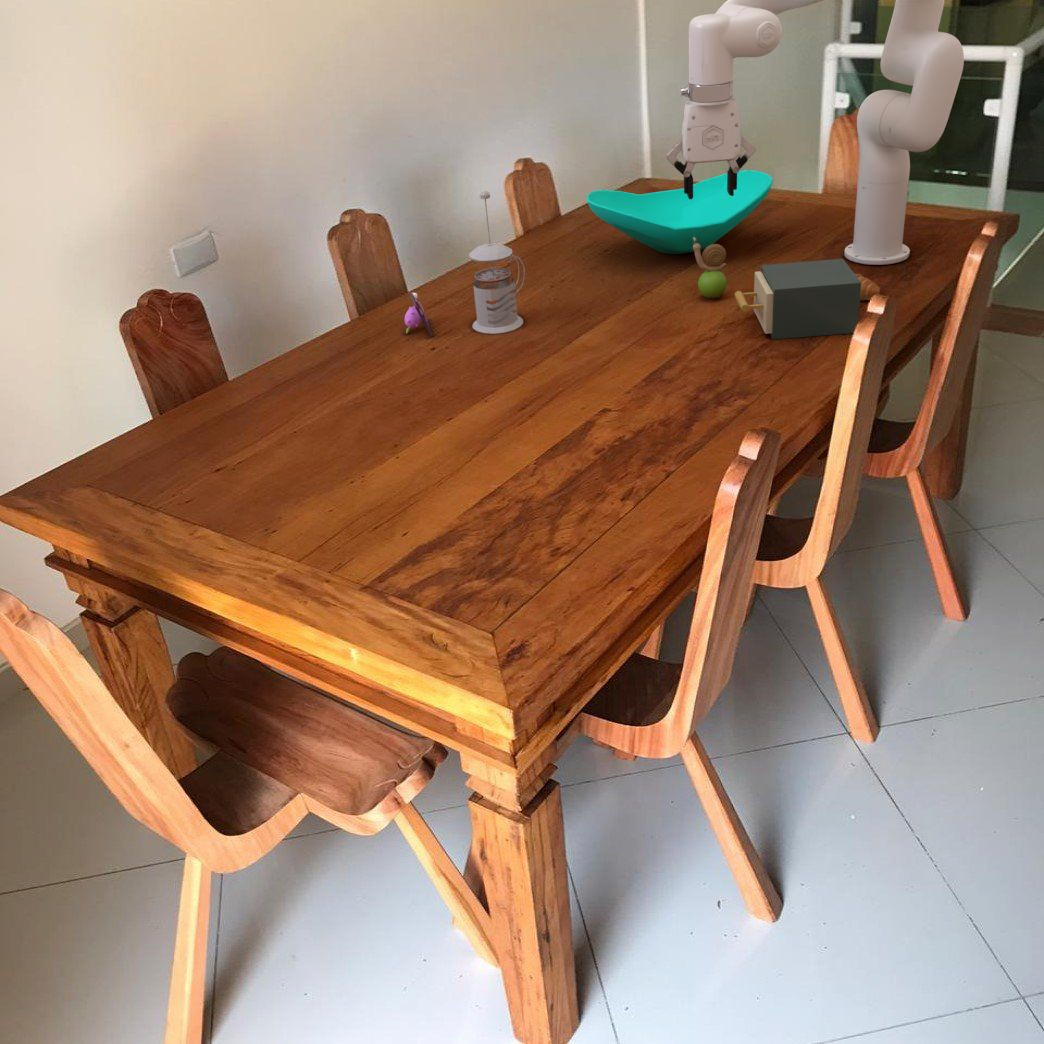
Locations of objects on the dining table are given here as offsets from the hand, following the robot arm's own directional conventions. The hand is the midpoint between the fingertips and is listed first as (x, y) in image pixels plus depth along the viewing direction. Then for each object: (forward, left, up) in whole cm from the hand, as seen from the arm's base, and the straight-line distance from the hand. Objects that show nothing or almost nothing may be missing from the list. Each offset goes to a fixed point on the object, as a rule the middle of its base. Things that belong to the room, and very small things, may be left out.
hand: (710, 194), depth 200 cm
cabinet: (+16, +15, -20) cm, 29 cm away
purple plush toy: (+5, -56, -20) cm, 60 cm away
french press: (+4, -40, -20) cm, 45 cm away
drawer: (+16, +11, -19) cm, 27 cm away
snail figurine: (0, 0, -20) cm, 20 cm away
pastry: (+4, +26, -20) cm, 33 cm away
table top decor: (-30, -2, -20) cm, 36 cm away
